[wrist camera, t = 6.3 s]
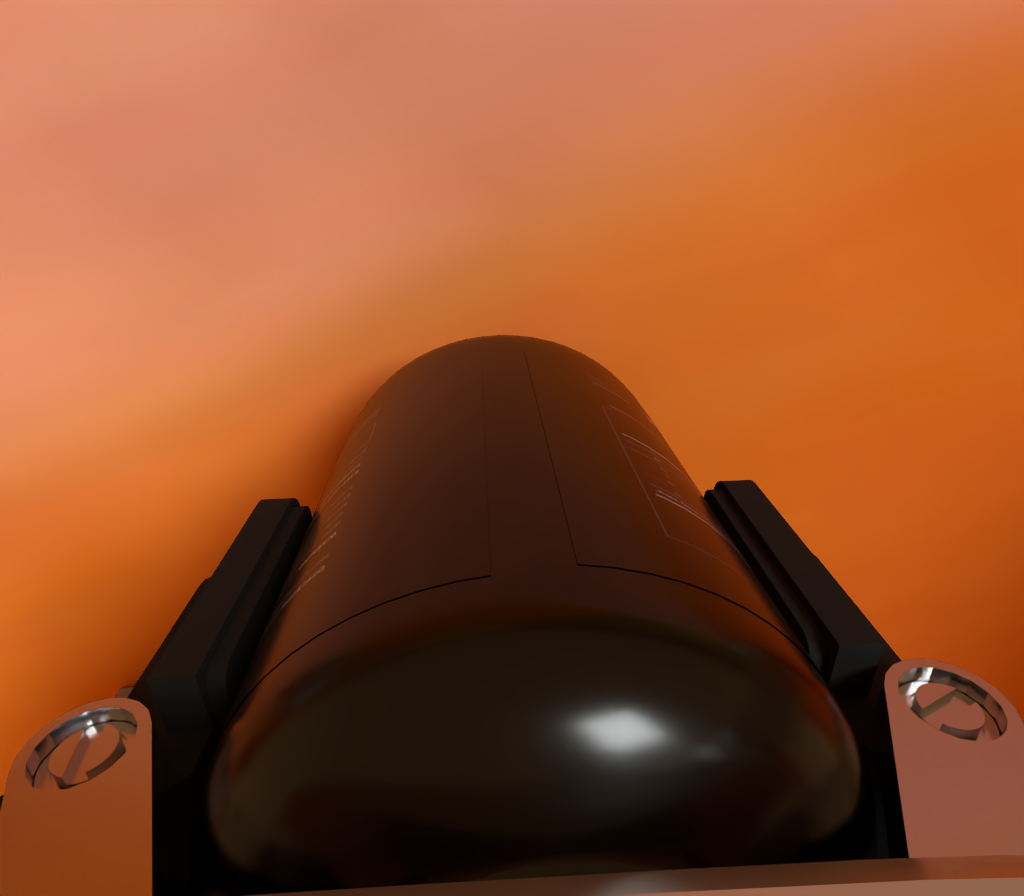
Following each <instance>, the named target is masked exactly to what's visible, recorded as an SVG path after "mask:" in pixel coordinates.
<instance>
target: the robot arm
mask: <svg viewBox="0 0 1024 896" xmlns="http://www.w3.org/2000/svg"><path fill="white" fill-rule="evenodd" d="M704 499H705V500H706V502H707V503H708V505H709V506H710V508H711V509H712V511H713V512H714V514H715V515H716V517H717V518H718V520H719V521H720V523H721V524H722V526H723V527H724V529H725V530H726V532H727V533H728V535H729V536H730V538H731V539H732V541H733V542H734V544H735V545H736V547H737V548H738V550H739V551H740V553H741V554H742V556H743V557H744V559H745V560H746V562H747V563H748V565H749V566H750V568H751V569H752V571H753V572H754V574H755V575H756V577H757V578H758V580H759V581H760V582H761V584H762V585H763V587H764V588H765V590H766V591H767V593H768V594H769V596H770V597H771V599H772V600H773V602H774V603H775V605H776V606H777V608H778V609H779V611H780V612H781V614H782V615H783V617H784V618H785V620H786V621H787V623H788V624H789V626H790V627H791V629H792V630H793V632H794V633H795V635H796V636H797V638H798V639H799V641H800V642H801V644H802V645H803V647H804V648H805V650H806V651H807V653H808V654H809V656H810V657H811V659H812V660H813V662H814V663H815V665H816V666H817V668H818V669H819V671H820V672H821V674H822V676H823V677H824V679H825V681H826V682H827V684H828V686H829V688H830V690H831V691H832V693H833V694H834V696H835V697H836V699H837V701H838V702H839V704H840V706H841V708H842V710H843V711H844V713H845V715H846V717H847V718H848V720H849V722H850V724H851V726H852V728H853V730H854V732H855V734H856V735H857V737H858V739H859V742H860V745H861V748H862V751H863V754H864V757H865V760H866V763H867V765H868V768H869V771H870V776H871V781H872V787H873V793H874V799H875V805H876V814H877V859H869V860H850V861H830V862H811V863H792V864H773V865H754V866H735V867H716V868H696V869H677V870H659V871H642V872H624V873H607V874H589V875H572V876H554V877H537V878H520V879H503V880H486V881H469V882H452V883H435V884H418V885H403V886H387V887H371V888H356V889H340V890H324V891H309V892H293V893H277V894H262V895H246V896H1024V724H1023V721H1022V719H1021V717H1020V716H1019V714H1018V712H1017V711H1016V709H1015V707H1014V705H1013V704H1012V703H1011V702H1010V701H1009V700H1008V699H1007V698H1006V697H1005V696H1004V695H1003V694H1002V693H1001V692H1000V691H999V690H997V689H996V688H995V687H993V686H992V685H990V684H989V683H987V682H986V681H985V680H983V679H982V678H980V677H978V676H976V675H974V674H972V673H970V672H968V671H966V670H964V669H962V668H959V667H956V666H953V665H950V664H947V663H944V662H941V661H935V660H928V659H907V660H903V661H901V660H900V659H899V657H898V656H897V655H896V654H895V652H894V651H893V650H892V649H891V647H890V646H889V645H888V644H887V643H886V641H885V640H884V639H883V638H882V636H881V635H880V634H879V633H878V632H877V630H876V629H875V628H874V627H873V625H872V624H871V623H870V622H869V621H868V619H867V618H866V617H865V616H864V614H863V613H862V612H861V611H860V609H859V608H858V607H857V606H856V605H855V603H854V602H853V601H852V600H851V598H850V597H849V596H848V595H847V594H846V592H845V591H844V590H843V589H842V587H841V586H840V585H839V584H838V582H837V581H836V580H835V579H834V578H833V576H832V575H831V574H830V573H829V571H828V570H827V569H826V568H825V567H824V565H823V564H822V563H821V562H820V560H819V559H818V558H817V557H816V556H815V555H813V554H812V553H811V551H810V550H809V549H808V548H807V547H806V545H805V544H804V543H803V542H802V540H801V539H800V538H799V537H798V535H797V534H796V533H795V532H794V531H793V529H792V528H791V527H790V526H789V524H788V523H787V522H786V521H785V519H784V518H783V517H782V516H781V514H780V513H779V512H778V511H777V510H776V508H775V507H774V506H773V505H772V503H771V502H770V501H769V500H768V498H767V497H766V496H765V495H764V494H763V492H762V491H761V490H760V489H759V487H758V486H757V485H756V484H755V483H754V482H753V481H752V480H739V481H719V482H717V483H716V485H715V487H714V490H707V491H706V492H705V495H704ZM311 520H312V515H311V511H310V509H309V507H308V506H300V504H299V502H298V500H297V499H295V498H290V499H265V500H260V502H259V503H258V504H257V506H256V507H255V509H254V510H253V512H252V513H251V515H250V517H249V518H248V520H247V521H246V523H245V525H244V526H243V528H242V529H241V531H240V532H239V534H238V536H237V537H236V539H235V540H234V542H233V543H232V545H231V547H230V548H229V550H228V551H227V553H226V555H225V556H224V558H223V559H222V561H221V562H220V564H219V566H218V567H217V569H216V570H215V572H214V573H213V575H212V577H210V578H208V579H205V580H204V581H203V582H202V583H201V585H200V586H199V587H198V589H197V590H196V592H195V593H194V595H193V597H192V598H191V600H190V601H189V603H188V604H187V606H186V607H185V609H184V610H183V612H182V614H181V615H180V617H179V618H178V620H177V621H176V623H175V624H174V626H173V627H172V629H171V631H170V632H169V634H168V635H167V637H166V638H165V640H164V641H163V643H162V644H161V646H160V648H159V649H158V651H157V652H156V654H155V655H154V657H153V658H152V660H151V661H150V663H149V665H148V666H147V668H146V669H145V671H144V672H143V674H142V675H141V677H140V678H139V680H138V681H137V683H136V685H135V686H134V688H133V689H132V691H131V692H130V694H129V695H128V697H127V698H107V699H103V700H99V701H95V702H90V703H87V704H85V705H82V706H80V707H78V708H75V709H73V710H71V711H68V712H66V713H65V714H63V715H61V716H60V717H58V718H57V719H55V720H53V721H52V722H50V723H49V724H47V725H46V726H45V727H43V728H42V729H41V730H40V731H39V732H38V733H36V734H35V735H34V736H33V737H32V738H31V739H29V741H28V742H27V743H26V744H25V746H24V747H23V748H22V749H21V751H20V752H19V753H18V754H17V756H16V758H15V760H14V762H13V764H12V767H11V769H10V771H9V775H8V779H7V783H6V788H5V792H4V795H2V796H0V896H191V891H190V880H189V841H190V833H191V826H192V821H193V816H194V810H195V805H196V801H197V798H198V795H199V793H200V790H201V787H202V784H203V781H204V778H205V775H206V773H207V770H208V767H209V764H210V761H211V758H212V755H213V753H214V750H215V747H216V744H217V742H218V739H219V737H220V734H221V732H222V729H223V727H224V724H225V722H226V719H227V717H228V715H229V712H230V710H231V708H232V705H233V703H234V701H235V698H236V696H237V694H238V691H239V689H240V687H241V684H242V682H243V679H244V677H245V675H246V672H247V670H248V668H249V665H250V663H251V661H252V658H253V656H254V654H255V651H256V649H257V647H258V644H259V642H260V640H261V637H262V635H263V633H264V630H265V628H266V626H267V623H268V621H269V619H270V616H271V614H272V612H273V609H274V607H275V604H276V602H277V600H278V597H279V595H280V593H281V590H282V588H283V586H284V583H285V581H286V579H287V576H288V574H289V572H290V569H291V567H292V565H293V562H294V560H295V558H296V555H297V553H298V551H299V548H300V546H301V544H302V541H303V539H304V537H305V534H306V532H307V530H308V527H309V525H310V523H311Z"/></svg>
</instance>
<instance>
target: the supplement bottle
mask: <svg viewBox="0 0 1024 896" xmlns="http://www.w3.org/2000/svg"><path fill="white" fill-rule="evenodd" d="M869 859H877V814H876V805H875V799H874V793H873V787H872V781H871V776H870V771H869V768H868V765H867V763H866V760H865V757H864V754H863V751H862V748H861V745H860V742H859V739H858V737H857V735H856V734H855V732H854V730H853V728H852V726H851V724H850V722H849V720H848V718H847V717H846V715H845V713H844V711H843V710H842V708H841V706H840V704H839V702H838V701H837V699H836V697H835V696H834V694H833V693H832V691H831V690H830V688H829V686H828V684H827V682H826V681H825V679H824V677H823V676H822V674H821V672H820V671H819V669H818V668H817V666H816V665H815V663H814V662H813V660H812V659H811V657H810V656H809V654H808V653H807V651H806V650H805V648H804V647H803V645H802V644H801V642H800V641H799V639H798V638H797V636H796V635H795V633H794V632H793V630H792V629H791V627H790V626H789V624H788V623H787V621H786V620H785V618H784V617H783V615H782V614H781V612H780V611H779V609H778V608H777V606H776V605H775V603H774V602H773V600H772V599H771V597H770V596H769V594H768V593H767V591H766V590H765V588H764V587H763V585H762V584H761V582H760V581H759V580H758V578H757V577H756V575H755V574H754V572H753V571H752V569H751V568H750V566H749V565H748V563H747V562H746V560H745V559H744V557H743V556H742V554H741V553H740V551H739V550H738V548H737V547H736V545H735V544H734V542H733V541H732V539H731V538H730V536H729V535H728V533H727V532H726V530H725V529H724V527H723V526H722V524H721V523H720V521H719V520H718V518H717V517H716V515H715V514H714V512H713V511H712V509H711V508H710V506H709V505H708V503H707V502H706V500H705V499H704V497H703V496H702V494H701V493H700V491H699V490H698V488H697V487H696V485H695V484H694V482H693V481H692V479H691V478H690V476H689V475H688V473H687V472H686V471H685V469H684V468H683V466H682V465H681V463H680V462H679V460H678V459H677V457H676V456H675V454H674V453H673V451H672V450H671V448H670V447H669V445H668V444H667V442H666V441H665V439H664V438H663V436H662V435H661V433H660V432H659V430H658V429H657V427H656V426H655V424H654V423H653V421H652V420H651V419H650V417H649V416H648V414H647V413H646V412H645V410H644V409H643V408H642V406H641V405H640V404H639V402H638V401H637V400H636V398H635V397H634V395H633V394H632V393H631V392H630V391H629V390H628V389H627V388H626V387H625V385H624V384H623V383H622V382H621V381H620V380H619V379H617V378H616V377H615V376H614V375H613V374H612V373H611V372H610V371H608V370H607V369H606V368H604V367H603V366H602V365H600V364H599V363H597V362H596V361H594V360H593V359H591V358H589V357H587V356H586V355H584V354H582V353H580V352H578V351H576V350H573V349H571V348H569V347H566V346H564V345H560V344H557V343H554V342H551V341H547V340H542V339H538V338H533V337H524V336H512V335H496V336H483V337H477V338H471V339H465V340H462V341H458V342H454V343H451V344H448V345H445V346H442V347H440V348H437V349H435V350H432V351H430V352H428V353H426V354H424V355H422V356H420V357H418V358H416V359H415V360H413V361H412V362H410V363H409V364H407V365H405V366H404V367H402V368H401V369H400V370H399V371H397V372H396V373H395V374H394V375H392V376H391V377H390V378H389V379H388V380H387V381H386V382H385V383H384V384H383V385H382V386H381V387H380V388H379V389H378V390H377V391H376V392H375V394H374V395H373V396H372V397H371V398H370V400H369V401H368V402H367V404H366V405H365V407H364V408H363V410H362V411H361V413H360V414H359V416H358V418H357V419H356V421H355V423H354V425H353V427H352V429H351V431H350V433H349V435H348V438H347V440H346V442H345V444H344V446H343V448H342V450H341V452H340V455H339V457H338V459H337V462H336V464H335V466H334V469H333V471H332V473H331V476H330V478H329V480H328V483H327V485H326V487H325V490H324V492H323V494H322V497H321V499H320V501H319V504H318V506H317V508H316V511H315V513H314V516H313V518H312V520H311V523H310V525H309V527H308V530H307V532H306V534H305V537H304V539H303V541H302V544H301V546H300V548H299V551H298V553H297V555H296V558H295V560H294V562H293V565H292V567H291V569H290V572H289V574H288V576H287V579H286V581H285V583H284V586H283V588H282V590H281V593H280V595H279V597H278V600H277V602H276V604H275V607H274V609H273V612H272V614H271V616H270V619H269V621H268V623H267V626H266V628H265V630H264V633H263V635H262V637H261V640H260V642H259V644H258V647H257V649H256V651H255V654H254V656H253V658H252V661H251V663H250V665H249V668H248V670H247V672H246V675H245V677H244V679H243V682H242V684H241V687H240V689H239V691H238V694H237V696H236V698H235V701H234V703H233V705H232V708H231V710H230V712H229V715H228V717H227V719H226V722H225V724H224V727H223V729H222V732H221V734H220V737H219V739H218V742H217V744H216V747H215V750H214V753H213V755H212V758H211V761H210V764H209V767H208V770H207V773H206V775H205V778H204V781H203V784H202V787H201V790H200V793H199V795H198V798H197V801H196V805H195V810H194V816H193V821H192V826H191V833H190V841H189V880H190V891H191V896H246V895H262V894H277V893H293V892H309V891H324V890H340V889H356V888H371V887H387V886H403V885H418V884H435V883H452V882H469V881H486V880H503V879H520V878H537V877H554V876H572V875H589V874H607V873H624V872H642V871H659V870H677V869H696V868H716V867H735V866H754V865H773V864H792V863H811V862H830V861H850V860H869Z"/></svg>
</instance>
